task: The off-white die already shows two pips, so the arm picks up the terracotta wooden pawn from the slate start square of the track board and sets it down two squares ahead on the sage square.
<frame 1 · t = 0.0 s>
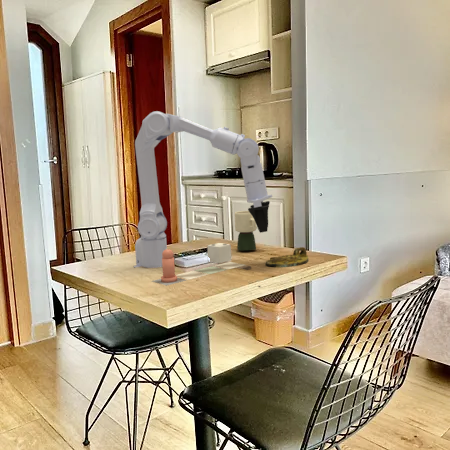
hand: (264, 229, 133), 11 cm above the table, tool pointing down, fingers open, 7 cm apart
board: (201, 276, 127), on the table
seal: (287, 264, 138), on the table
pawn: (169, 280, 119), point 1 cm above the table, touching board
die: (219, 261, 145), on the table
character mug: (246, 251, 158), on the table
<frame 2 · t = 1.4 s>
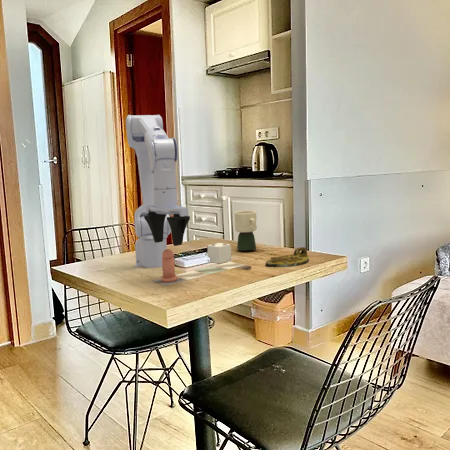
hand: (168, 243, 118), 10 cm above the table, tool pointing down, fingers open, 7 cm apart
nothing on the table moved.
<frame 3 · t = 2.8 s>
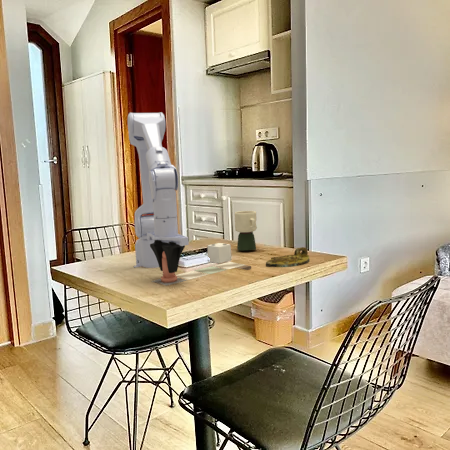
hand: (168, 271, 119), 3 cm above the table, tool pointing down, fingers closed on pawn, 3 cm apart
pawn: (169, 280, 119), point 1 cm above the table, touching board, gripper
everything else where it was.
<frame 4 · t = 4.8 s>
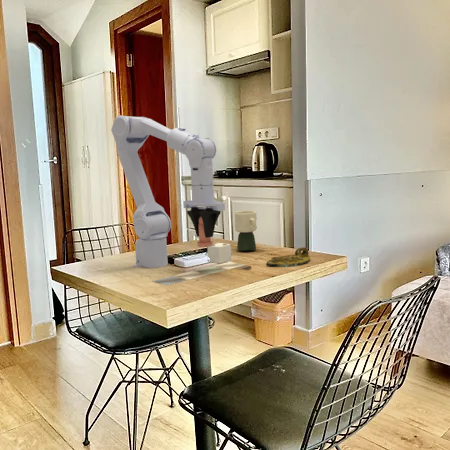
hand: (204, 236, 126), 10 cm above the table, tool pointing down, fingers closed on pawn, 3 cm apart
pawn: (205, 245, 127), point 8 cm above the table, touching gripper
everything else where it was.
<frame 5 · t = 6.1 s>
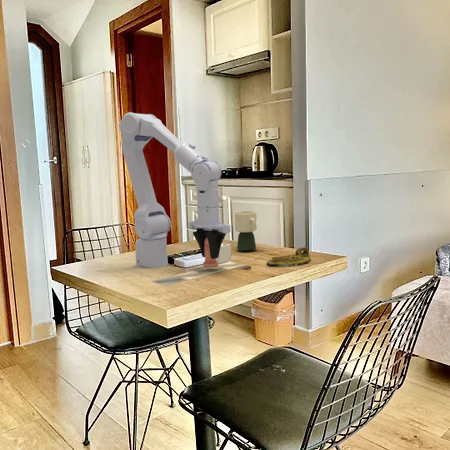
hand: (210, 257, 128), 5 cm above the table, tool pointing down, fingers closed on pawn, 3 cm apart
pawn: (210, 266, 129), point 2 cm above the table, touching gripper
everything else where it was.
when the fingers open (4 cm above the table, at t = 6.8 s): pawn stays where it is, resting on board.
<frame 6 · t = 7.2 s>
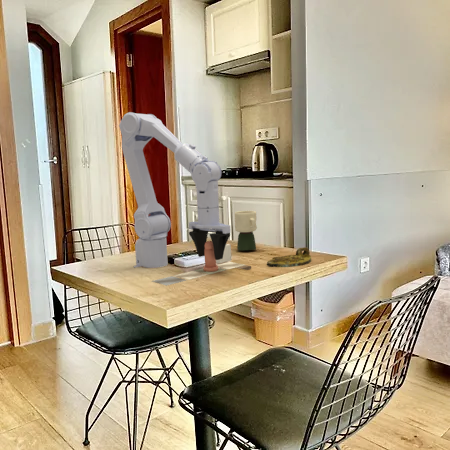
hand: (210, 257, 128), 4 cm above the table, tool pointing down, fingers open, 6 cm apart
pawn: (210, 269, 129), point 1 cm above the table, touching board
everything else where it was.
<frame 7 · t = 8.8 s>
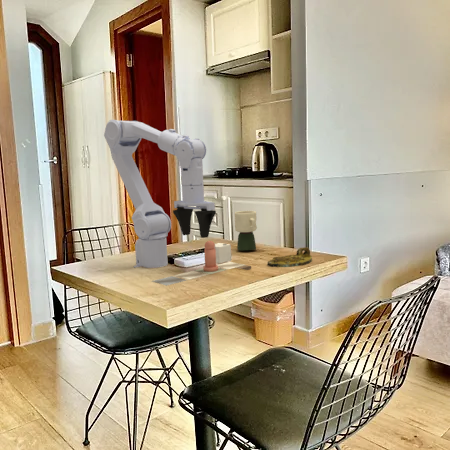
hand: (195, 236, 128), 10 cm above the table, tool pointing down, fingers open, 7 cm apart
nothing on the table moved.
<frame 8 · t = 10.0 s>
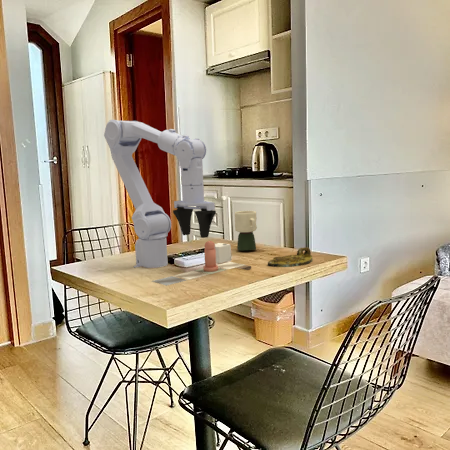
hand: (195, 236, 128), 10 cm above the table, tool pointing down, fingers open, 7 cm apart
nothing on the table moved.
at the end: pawn 0.0 cm from the target spot on the board, point 1.0 cm above the board's base; pawn tilted 0°; the gripper is holding nothing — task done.
